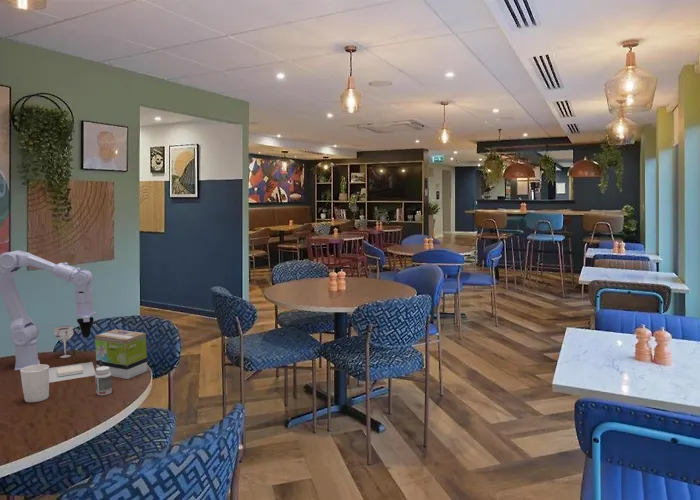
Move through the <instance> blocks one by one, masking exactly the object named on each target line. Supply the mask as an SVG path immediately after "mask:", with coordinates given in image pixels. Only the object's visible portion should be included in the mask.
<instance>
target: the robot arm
mask: <svg viewBox="0 0 700 500" xmlns="http://www.w3.org/2000/svg"><path fill="white" fill-rule="evenodd" d="M27 266H28V267H29V266H31V267H34V268H38V269H41V270H44V271H48V272H51V273H52V275H53V277H54V278H57V279H61V280H63V281H65V282H68V283H71V284H72V285H74V289H75V291H74V295H75V311H76V314H75V317H77V319H76V321H77V323H78V325H79V328H80V331H81V334H82V337H83V338H90V334H91V328H92V325H93V322H94V317H93V316H94V315H97V314H98V313H97V311H94V305H93V288H92V282H93V280H94V275H93V273H92V272H91V271H90V270H88V269H82V270H81V267H75V266H71V265H69V262H58V263H57V264H56V263H54V262H52V261H49V260H47V259H45V258H42V257H40V256H37V255H35V254H32V253H31V252H26V251H23V250H19V249H16V250H14V251H8V252H7V251H6V252H3V253H1V254H0V295H1V296H2V300H3V302H4V305H5V307H6V310H7V314H8V315H9V318H10V320H11V324H10V327H9V329H10V332H11V334H10V340H11V342H12V343H13V344H14V354H15V355H14V356H15V363H14V371H20V370H21V369H22V368H24V367H27V366H31V365H39V364H41V363H40V359H39V352H38V340H37V337H39V333H40V329H39V327H38V326H37V325H36V324H35V323H34V321H33V319H32V318H31V317H29V315H28V313H27V311H26V308H25V306H24V302H23V299H22V297H21V295H20V292H19V289H18V287H17V284H16V282H15V278H14V277H15V275H16V273H17V272H18V271H19V270H20V269H21V268H23V267H27Z"/></svg>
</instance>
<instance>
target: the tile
mask: <svg viewBox="0 0 700 500" xmlns="http://www.w3.org/2000/svg"><path fill="white" fill-rule="evenodd" d="M57 373H58V377H64V376H70V375H76V374H83V368H82V365H76V366H69V367H63V368H57Z"/></svg>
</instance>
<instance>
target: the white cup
mask: <svg viewBox="0 0 700 500" xmlns="http://www.w3.org/2000/svg"><path fill="white" fill-rule="evenodd" d="M49 368H50V365H48V364H41V363H40V364H39V365H31V366H27V367H24V368H22V369H21V370H19V371H20V377H21V388H22V393H23V398H24V402H26V403H37V402H42V401H45V400H47V399H48V398H49V397H50V383H49Z"/></svg>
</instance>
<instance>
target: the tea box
mask: <svg viewBox="0 0 700 500" xmlns="http://www.w3.org/2000/svg"><path fill="white" fill-rule="evenodd" d="M94 343H95V344H94V345H95V361H96V362H95V363H96V368H99V367H103V366H107V367H109V369H110V373H111V377H115V378H121V379H125V380H130V379H133V378H135V377H137V376H139V375H142V374H145V372H148V353H147V350H148V349H147V334H146V332H140V331H131V330H125V329H124V330H123V329H116V328H114V329H112V330H110V331H109V330H108V331H105V332H103V333H99V334H96V335H94Z"/></svg>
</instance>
